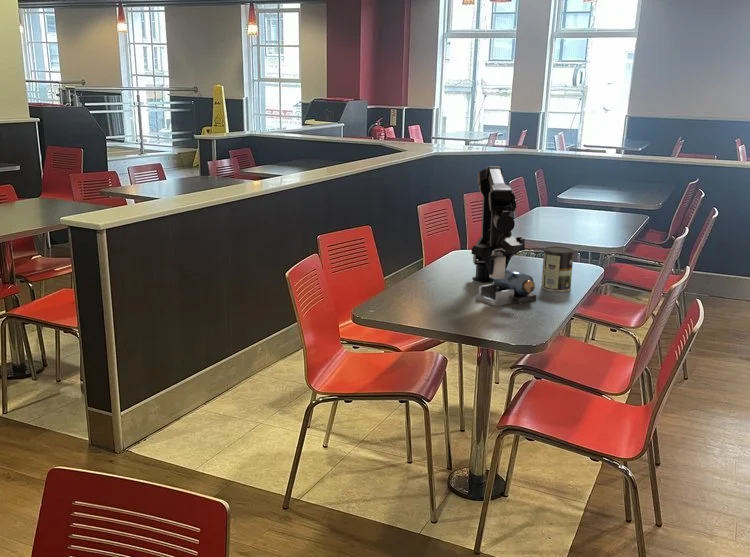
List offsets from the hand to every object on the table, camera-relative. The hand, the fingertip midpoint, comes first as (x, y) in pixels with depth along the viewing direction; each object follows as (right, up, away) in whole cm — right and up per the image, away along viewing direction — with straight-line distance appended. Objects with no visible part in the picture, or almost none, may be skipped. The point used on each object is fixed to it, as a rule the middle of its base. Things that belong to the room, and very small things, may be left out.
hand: (497, 273), depth 229 cm
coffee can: (+24, -5, +17) cm, 30 cm away
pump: (0, -1, 0) cm, 1 cm away
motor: (+3, -9, +4) cm, 10 cm away
